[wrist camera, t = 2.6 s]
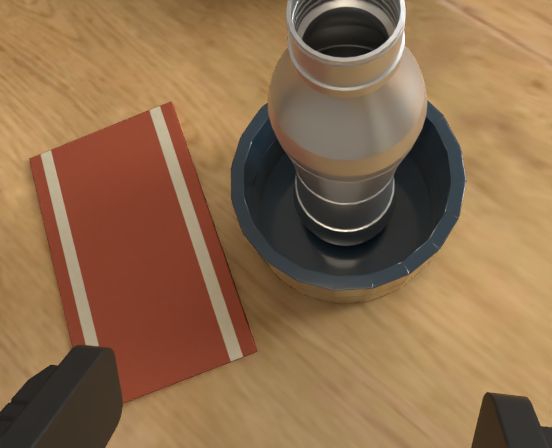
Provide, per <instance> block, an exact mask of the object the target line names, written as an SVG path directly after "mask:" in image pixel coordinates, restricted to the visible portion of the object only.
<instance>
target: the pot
mask: <svg viewBox="0 0 552 448" xmlns="http://www.w3.org/2000/svg"><path fill="white" fill-rule="evenodd" d="M231 167H232V168H231V200H232V204H233V207H234V210H235V213H236V215H237V218H238V221H239V224H240V227H241V229H242V232H243V234H244V235H245V236H246V238H247V239H248V240H249V241H250V243H251V244H252V245H253V246H254V248H255V249H256V250H257V251H258V253H259V254H260V255H261V256H262V258H263V259H264V260H265V261H266V263H267V264H268V265H269V266H270V268H271V269H272V270H273V271H274V273H275V274H276V275H277V276H278V278H280V279H281V280H282V281H284V282H286V283H287V284H289V285H290V286H291V287H293V288H294V289H296V290H298V291H299V292H301V293H303V294H304V295H306V296H310V297H314V298H317V299H320V300H325V301H329V302H333V303H357V302H367V301H371V300H373V299H376V298H379V297H382V296H384V295H387V294H389V293H391V292H394V291H396V290H398V289H400V288H401V287H402V286H403V285H405V284H406V283H407V282H408V281H409V280H411V279H412V278H413V277H414V276H415V275H417V274H418V273H419V272H420V271H421V270H422V269H423V268H424V267H425V266H426V265H427V264H428V262H429V261H430V260H431V259H432V258H433V257H434V255H435V254H436V253H437V252H438V251H439V250H440V249H441V247H442V245H443V244H444V242H445V240H446V239H447V237H448V235H449V234H450V232H451V230H452V229H453V227H454V225H455V224H456V222H457V220H458V218H459V216H460V211H461V206H462V201H463V196H464V191H465V186H466V176H465V170H464V163H463V157H462V150H461V147H460V145H459V143H458V141H457V139H456V138H455V136H454V134H453V132H452V130H451V128H450V126H449V125H448V123H447V121H446V119H445V117H444V115H443V114H442V113H440V112H439V111H438V110H437V109H436V108H435V107H434V106H433V105H432V104H431V103H430V102H429V101H428V100H427V113H426V118H425V121H424V124H423V128H422V130H421V132H420V134H419V136H418V138H417V140H416V141H415V143H414V145H413V147H412V148H411V150H410V151H409V153H408V154H407V155H406V156H405V158H404V159H403V160H402V162H401V163H400V164H399V165H398V167H397V169H396V171H395V173H394V179H395V187H396V204H395V208H394V212H393V215H392V217H391V219H390V220H389V222H388V224H387V225H386V226H385V227H384V229H383V230H382V231H381V232H379V233H378V234H377V235H375V236H374V237H373V238H371V239H369V240H367V241H365V242H363V243H360V244H356V245H349V246H342V245H335V244H332V243H329V242H326V241H324V240H322V239H321V238H319V237H317V236H316V235H315V234H313V233H312V232H311V231H310V230H309V229H308V228H307V227H306V226H305V225H304V223H303V222H302V221H301V219H300V217H299V215H298V213H297V211H296V208H295V204H294V197H293V189H294V181H295V175H296V169H295V167H294V164H293V163H292V161H291V160H290V158H289V157H288V155H287V154H286V152H285V151H284V149H283V148H282V146H281V144H280V143H279V141H278V139H277V137H276V135H275V132H274V130H273V128H272V125H271V122H270V118H269V114H268V103H267V104H265V105H264V106H263V107H261V109H260V110H259V111H258V113H257V114H256V115H255V117H254V118H253V120H252V121H251V123H250V124H249V125H248V127H247V128H246V130H245V131H244V132H243V134H242V136H241V138H240V141H239V144H238V147H237V150H236V153H235V156H234V160H233V163H232V166H231Z"/></svg>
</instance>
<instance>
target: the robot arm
mask: <svg viewBox="0 0 552 448" xmlns="http://www.w3.org/2000/svg"><path fill="white" fill-rule="evenodd" d="M122 407H123V397H122V391H121V386H120V380H119V374H118V369H117V363H116V357H115V353H114V351H113V349H111V348H108V347H99V346H90V345H81V344H79V345H76V346H75V347H73V348H72V349H71V351H70V352H69V353H68V354H67V356H66V357H65V358H64V359H63V360H62V362H61V363H60V364H59V365H58V366H56V365H50V366H48V367H47V368H45V369H44V370H42V371H41V372H39V373H38V374H36V375H35V376H33V377H32V378H30V379H29V380H28V381H27V382H26V383H25V384H24V385H23V387H22V388H21V389H20V390H19V391H18V392H17V393H16V395H15V396H14V397H13V398H12V401H11V403H8V404H7V405H6V406H5V407H4V408H3V410H2V411H1V412H0V448H105V447H106V445H107V443H108V441H109V440H110V438H111V436H112V434H113V433H114V431H115V429H116V427H117V425H118V423H119V420H120V417H121V413H122ZM471 448H552V428H551V427H543V426H540V423H539V421H538V418H537V416H536V413H535V411H534V409H533V406H532V404H531V402H530V400H529V399H528V398H527V397H524V396H515V395H506V394H498V393H489V392H487V393H486V394H485V395H484V397H483V401H482V405H481V409H480V413H479V417H478V422H477V426H476V430H475V434H474V438H473V442H472V447H471Z"/></svg>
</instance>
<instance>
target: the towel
mask: <svg viewBox="0 0 552 448" xmlns="http://www.w3.org/2000/svg"><path fill="white" fill-rule="evenodd" d="M30 163H31V168H32V172H33V177H34V181H35V185H36V190H37V194H38V198H39V203H40V207H41V212H42V216H43V220H44V225H45V229H46V233H47V238H48V242H49V247H50V251H51V255H52V260H53V264H54V268H55V273H56V277H57V281H58V286H59V290H60V295H61V299H62V303H63V308H64V312H65V316H66V321H67V325H68V330H69V334H70V338H71V343H72V347H75V346H76V345H79V344H81V345H90V346H99V347H108V348H111V349H113V351H114V353H115V357H116V363H117V369H118V374H119V380H120V386H121V391H122V397H123V403H126V402H128V401H131V400H133V399H136V398H138V397H141V396H144V395H146V394H149V393H151V392H154V391H157V390H159V389H162V388H164V387H167V386H169V385H172V384H175V383H177V382H180V381H182V380H185V379H188V378H190V377H193V376H195V375H198V374H200V373H203V372H206V371H208V370H211V369H213V368H216V367H219V366H221V365H224V364H226V363H229V362H231V361H234V360H237V359H239V358H242V357H244V356H247V355H250V354H252V353H255V352H257V349H256V346H255V343H254V340H253V337H252V334H251V331H250V328H249V325H248V323H247V320H246V317H245V314H244V311H243V308H242V305H241V302H240V299H239V296H238V293H237V290H236V288H235V285H234V282H233V279H232V276H231V273H230V270H229V267H228V264H227V261H226V258H225V255H224V253H223V250H222V247H221V244H220V241H219V238H218V235H217V232H216V229H215V226H214V223H213V220H212V217H211V215H210V212H209V209H208V206H207V203H206V200H205V197H204V194H203V191H202V188H201V185H200V182H199V180H198V177H197V174H196V171H195V168H194V165H193V162H192V159H191V156H190V153H189V150H188V147H187V145H186V142H185V139H184V136H183V133H182V130H181V127H180V124H179V121H178V118H177V115H176V112H175V109H174V107H173V104H172V102H169V103H166V104H164V105H161V106H158V107H156V108H153V109H151V110H149V111H146V112H144V113H141V114H139V115H137V116H134V117H132V118H129V119H127V120H124V121H122V122H119V123H117V124H114V125H112V126H109V127H107V128H104V129H102V130H99V131H97V132H94V133H92V134H90V135H87V136H85V137H82V138H80V139H77V140H75V141H72V142H70V143H67V144H65V145H62V146H60V147H57V148H55V149H52V150H50V151H47V152H45V153H42V154H40V155H38V156H35V157H33V158H30Z"/></svg>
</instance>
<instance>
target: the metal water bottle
mask: <svg viewBox="0 0 552 448" xmlns="http://www.w3.org/2000/svg"><path fill="white" fill-rule="evenodd" d="M405 17H406V10H405V2H404V0H288V4H287V10H286V21H287V29H288V38H287V41H288V48H287V49H286V50H285V51H284V53H283V54H282V56H281V58H280V59H279V61H278V62H277V65H276V67H275V70H274V72H273V75H272V79H271V82H270V86H269V93H268V99H267V100H268V114H269V118H270V122H271V125H272V128H273V130H274V132H275V135H276V137H277V139H278V141H279V143H280V144H281V146H282V148H283V149H284V151H285V152H286V154H287V155H288V157H289V158H290V160H291V161H292V163H293V164H294V167H295V169H296V175H295V181H294V189H293V197H294V204H295V208H296V211H297V213H298V215H299V217H300V219H301V221H302V222H303V223H304V225H305V226H306V227H307V228H308V229H309V230H310V231H311V232H312V233H313V234H315V235H316V236H317V237H319V238H321V239H322V240H324V241H326V242H329V243H332V244H335V245H342V246H349V245H356V244H360V243H363V242H365V241H367V240H369V239H371V238H373V237H374V236H375V235H377V234H378V233H379V232H381V231H382V230H383V229H384V227H385V226H386V225H387V224H388V222H389V220H390V219H391V217H392V215H393V212H394V208H395V204H396V187H395V179H394V173H395V171H396V169H397V167H398V165H399V164H400V163H401V162H402V160H403V159H404V158H405V156H406V155H407V154H408V153H409V151H410V150H411V148H412V147H413V145H414V143H415V141H416V140H417V138H418V136H419V134H420V132H421V130H422V128H423V124H424V121H425V118H426V113H427V94H426V88H425V83H424V79H423V75H422V72H421V70H420V67H419V65H418V62H417V60H416V59H415V57H414V56H413V54H412V53H411V51H410V50H409V49H408V48H407V47H406V46H405V45H404V43H405V34H404V26H405Z"/></svg>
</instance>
